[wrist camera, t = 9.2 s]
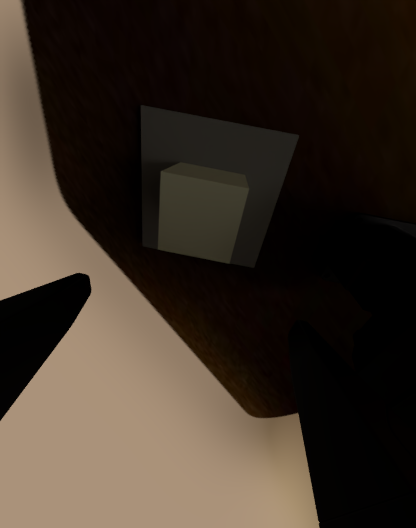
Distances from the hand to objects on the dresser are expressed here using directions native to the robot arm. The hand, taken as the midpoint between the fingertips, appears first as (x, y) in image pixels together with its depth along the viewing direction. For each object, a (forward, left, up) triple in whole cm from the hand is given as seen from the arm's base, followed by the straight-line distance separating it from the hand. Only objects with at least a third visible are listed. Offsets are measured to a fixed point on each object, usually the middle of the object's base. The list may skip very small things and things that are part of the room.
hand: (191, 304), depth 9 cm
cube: (+1, -1, -11) cm, 11 cm away
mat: (+1, -2, -11) cm, 11 cm away
